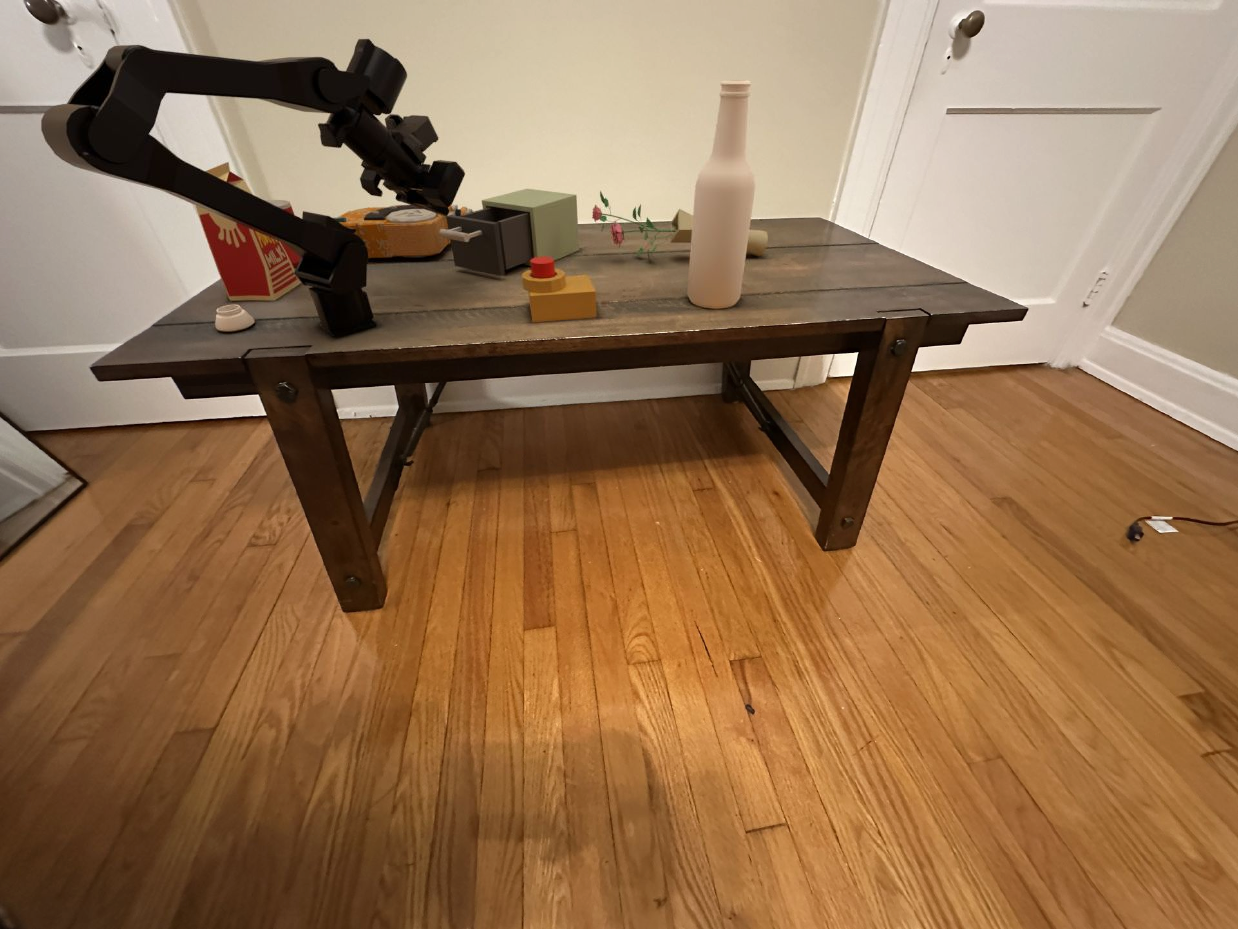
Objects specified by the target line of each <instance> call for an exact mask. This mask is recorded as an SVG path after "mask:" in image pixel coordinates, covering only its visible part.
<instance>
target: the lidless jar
mask: <svg viewBox="0 0 1238 929" xmlns="http://www.w3.org/2000/svg"><path fill="white" fill-rule="evenodd" d="M214 322H215V323H214V327H215V328H216V330H217V331H221V332H227V333H229V332H238V331H243V330H246V329H248V328H249V327H251V326H252V325H253V324H254V323H255V319H254V317H253V316H252V315H251V314H250V313H249V312H248V311H247V310H246V309H243V308H242V306H241V305H239V304H228V305H223V306H219V307H218V308H217V309H216V315H215V321H214Z"/></svg>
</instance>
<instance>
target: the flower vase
mask: <svg viewBox="0 0 1238 929" xmlns="http://www.w3.org/2000/svg"><path fill="white" fill-rule="evenodd" d="M599 197H600V201H601V202H602V204H604V207H605V208H606V209H607V208H608V209H609V214H608V213H603V212H602V209H601V208H600V207H598V205H597V204H595V205H594V207H593V208H592V212H591V213H592V217H591V219H593V220H594V222H595V223H597V221H599V220H600V221H601V222H603V223H602V226H601V229H600V232H601V233H602V232H603V231H604V228H606V227H608V226H610V233H611V235H612V241H613V244H614V245H616V246H617V247H619V248H621V245H622V243H623V241H625V242H626V243H627V241H626V239H625V233H635V232H640V234H642V233H644V237H643V238H644V239H643V240H645V241H646V240H648V239H650V237H649V234H648V232H657V233H656V234H655V235H654V236H653V238H651V240H650V241H649V243H648V244H647V246H650V247H649V248H648V249H647V247H645V248H643V247H642V246H641V247H640V248H639V249H638V251H637V254H636V258H639V256H640V255H642V253H643V252H644V250H645V249H647V257H648V261H649V263H650V264H652V263H651V262H652V261H651V259H650V256H652V255H653V254H654V252H655V250H656V249H657V247H658V246H660V243H658V244H656V245H654V243H655V240H657V239H662V238H664V236H660V237H657V235H659V233H661V232H662V233H670V234H669V235H666V236H665V238H666V239H665V241H667V239H668V237H670V243H671V244H691V237H692V224H693V214H691V213H689V212H687V211H685V210H683V209H681V208H679V209H678V210H677V212H676V213H675V215H674V217H673V218H672V220H671V221H670V229H659V228H657V227H656V225H655V223H653V222H652V221H651V220H650V218H648V216H647V217H646V220H645V224H644V223H643V222H642V221H639V220H637V219H638V218H640V220H642V218H641V211H642V203H641V204H640V205H639V206H638V207H636V206H635V207H634V208H633V210H632V218H633V219H634V220H635V221H633V220H631V219H627V218H624V217H621V216H617V215H613V214H612V213H611V205H610V204H609V200H608V198H607V197H604V195H603V192H602V191H601V190H600V191H599ZM637 208H638V209H637ZM607 216H608V217H612V218H616V219H617V220H616V219H615V220H614V221H611V220H608V219H607ZM637 216H638V218H637ZM619 220H623V221H627V222H630V223H633V224H636V225H639V226H638V227H637V228H638V229H632V230H631V229H630V230H624V229H623V226H622V223H621V222H620V224H619V223H618V221H619ZM606 221H607V222H611V223H610V224H607V225H604V224H605V222H606ZM768 238H769V237H768V232H767V231H765V230H758V229H749V236H748V243H747V251H746V254H748V255H751V256H755V257H760V256H762V254H764V252H765V250H766V249H767V245H768V241H769V240H768ZM665 241H664V242H662V244H664V243H665ZM653 246H654V247H653ZM651 247H653V248H652V251H651V253H650V249H651Z"/></svg>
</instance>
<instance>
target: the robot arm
mask: <svg viewBox="0 0 1238 929" xmlns="http://www.w3.org/2000/svg"><path fill="white" fill-rule="evenodd" d="M407 79H408V73H407V70H406V68H405V66H404V65H403V63H402V62H401V61H400V59H398V58H396V57H394V56H393V55H391V54H390V53H389V52H388V51H387V50H384V49H383V48H381V47H379V46H377V45H375V43H373V41H372V40H371V39H370V38H358V40H357V42H356V43H355V46H354V51H353V54H352V57H351V58H350V61H349V63H348V66H347V68H346V70H340V69H338V68H337V66H336V65H335V63H334V62H333V60H331V59H328V58H326V57H323V56H295V57H294V56H289V57H287V56H286V57H280V58H271V59H263V60H257V61H256V60H249V59H240V58H230V57H223V56H222V57H221V56H213V55H206V54H205V55H204V54H195V53H187V52H178V51H168V50H161V49H153V48H150V47H148V46H145V45H141V44H125V45H113V46H111V47H110V48H109V49H108V50H107V51H106V54H105V57H104V58H103V59H102V61H101V62H100V64H99V65H98V67H97V68H96V69H95V70H94V71H93V72H92V73H91V74H90V75H89V76H88V77H87V78H86V79H85V80H84V81H83V82H82V83H81V84H80V85H79V86H78V87H77V88H76V89H75V91H74V92H73V94H72V95H71V96H70V98H69V99H68V101H67V102H66V103H61V104H57V105H52V106H51V107H50V108H48V109H47V110H45V111H44V113H43V116H42V118H41V120H40V129H41V130H40V131H41V134H42V135H43V138H44V140H45V143H46V144H47V145H48V147H49V148H50V149H51V150H52V152H53V153H54V155H55V156H56V157H58V158H59V159H60V160H61V161H63V162H65V163H67V164H69V165H71V166H73V167H75V168H78V169H81V170H85V171H88V172H92V173H95V174H99V175H102V176H106V177H110V178H113V179H117V180H121V181H125V182H128V183H132V184H136V185H140V186H143V187H147V188H152V189H154V190H158V191H162V192H164V193H167V195H168V194H169V195H170V196H173V197H176V198H178V199H179V200H183V201H185V202H186V203H190V204H192V205H194V206H195V205H196V206H199V207H201V208H203V209H206V210H208V211H210V212H213V213H215V214H217V215H219V216H222V217H224V218H226V219H229V220H231V221H233V222H236V223H238V224H240V225H243V226H245V227H247V228H250V229H252V230H254V231H257V232H259V233H261V234H264V235H266V236H268V237H270V238H273V239H275V240H277V241H280V242H282V243H284V244H285V245H287V246H288V247H289V248H290V249H291V250H292V251H294V252H295V253H296V254H297V255H299V256H300V257H301V259H300V261H299V263H298V265H297V267H296V268H295V272H294V273H295V275H296V277H297V278H298V279H299V280H300V282H301V283H300V284H301V285H302V286H306V287H307V286H308V287H309V288H308V290H309V293H310V295H311V298H312V301H313V305H314V307H315V310H316V312H317V315H318V318H319V322H317V326H318V327H319V328H320V329H322V330H323V331H325V332H326V333H327V334H329V335H330V336H332V337H333V338H339V337H342V336H346V335H349V334H353V333H357V332H361V331H364V330H366V329H371V328H373V327H376V326H377V321H375V320H374V313H373V310H372V307H371V303H370V300H369V296H368V293H367V291H365V290H363V288H366V287H367V284H368V283H367V282H368V279H367V278H368V263H369V258H368V250H367V247H366V243H365V241H364V240H363V239H362V238H361V237H359V236H358V235H356V234H354V233H355V232H356V229H354V228H349V227H345V226H343V225H342V224H341V223H339V222H338V221H337V220H335V219H333V218H334V217H332V216H330V215H326V214H321V213H315V212H311V211H305V210H303V211H302V215H301V216H302V217H299V216H297V215H296V214H294V215H293V214H291V213H289V212H287V211H285V210H283V209H281V208H279V207H277V206H275V205H273V204H271V203H269V202H267V200H265V199H263V198H261V197H258V196H256V195H255V194H253V193H252V194H253V195H252V194H250V193H248V192H246V191H244V190H242V189H240V188H238V187H236V186H234V185H232V184H230V183H228V182H226V181H224V180H222V179H220V178H218V177H216V176H214V175H212V174H209V173H207V172H205V171H206V170H203V169H201V168H200V167H197V166H195V165H194V164H191V163H189V162H186V161H185V160H183V159H182V158H180V157H179V156H177V154H175V153H174V152H172V150H170V149H169V148H168V147H167V146H165V144H163V143H162V142H161V141H160V140H159V139H158V138H156V137H154V136H153V135H151V134H150V133H151V132H152V130H153V128H154V126H155V124H156V121H157V118H158V114H159V111H160V107H161V104H162V101H163V99H164V98H165V96H166V94H177V95H190V96H208V97H220V98H221V97H224V98H242V99H254V100H261V101H263V102H264V101H265V102H268V103H271V104H274V105H276V106H280V107H283V108H287V109H291V110H296V111H300V112H304V113H317V114H329V115H328V118H327V120H326V122H324V123H323V122H322V123H321V122H318V123H317V127H318V130H319V132H320V133H319V137H320V143H321V145H322V146H323V147H325V148H326V147H327V148H336V149H340V148H342V147H343V145H344V146H346V147H347V148H348V149H349V150H350V151H351V152H352V153H353V154H355V155H356V156H357V157H358V158H359V159H360V160H361V163H360V166H361V167H362V168H363V170H362V173H361V175H360V177H359V182H360V185H361V186H360V187H361V188H362V189H363V190H364V191H366V193H368V194H369V195H370V196H371V197H373V196H374V197H378V198H382V197H383V194H384V192H383V190H382V189H381V188H380V187H379V186H380V183H381V181H383V182H382V186H384V187H385V188H386V189H387V190H388V191H392V192H394V193H395V194H396V196H395V200H396V201H397V202H399V203H400V202H401V203H404V204H405V205H413V206H416V207H419V208H422V209H425V210H428V211H431V212H434V213H437V214H440V215H443V216H447V215H448V213H449V209H448V207H449V206H450V205H451V206H452V205H453V203H454V201H455V199H456V197H457V194H458V192H459V190H460V187H461V185H462V182H463V180H464V178H465V176H466V172H465V170H464V169H463V167H461V165H460V164H459V163H458V162H457V161H453V160H446V159H445V160H443V159H437V160H433V161H432V163H431V164H429V163H425V162H426V159H427V155H426V154H425V153H424V152H425V151H427V150H428V148H430V147H431V146H432V145H433V144H434V143H437V142H438V141H439V136H438V133H437V131H436V130H435V126H433V123H432V121H431V120H430V117H429V116H428V115H415V114H411V115H408V116H407V115H404V116H403V117H402V116H401V115H400V114H394V113H392V112H393V110H394V108H395V105H396V104H397V101H398V100H399V97H400V95H401V92H402V90H403V87H404V86H405V83H406V81H407ZM381 115H387V116H386V117H385V118H384V123H385V124H384V123H383V122H382V121H381V120H380V119H379V118H378V117H379V116H381ZM196 206H195V207H196Z"/></svg>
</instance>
